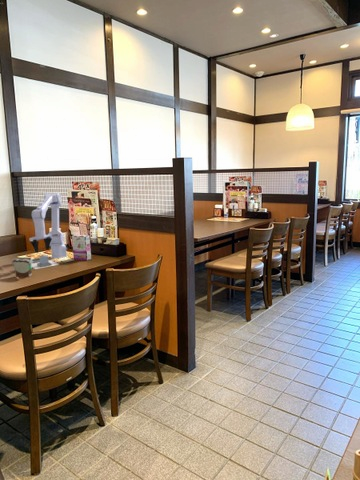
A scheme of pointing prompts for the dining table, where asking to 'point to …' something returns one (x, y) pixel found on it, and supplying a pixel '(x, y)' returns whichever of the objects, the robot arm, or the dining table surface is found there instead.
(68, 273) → the dining table surface
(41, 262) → the plug
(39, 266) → the panel
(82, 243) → the candy bar box
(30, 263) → the food container
